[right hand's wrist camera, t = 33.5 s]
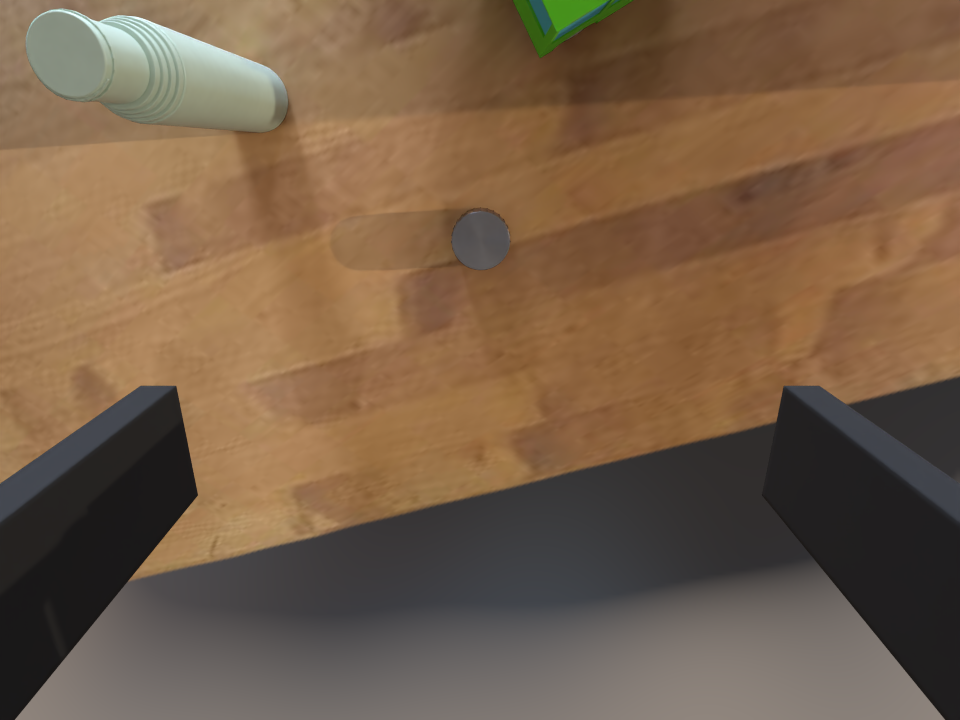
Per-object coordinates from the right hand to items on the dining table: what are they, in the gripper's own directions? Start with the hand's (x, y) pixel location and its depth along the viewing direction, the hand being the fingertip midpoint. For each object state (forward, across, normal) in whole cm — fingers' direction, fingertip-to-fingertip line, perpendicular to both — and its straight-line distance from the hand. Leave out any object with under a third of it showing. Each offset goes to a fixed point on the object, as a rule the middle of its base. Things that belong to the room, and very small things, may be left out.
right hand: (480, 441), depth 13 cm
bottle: (+32, +15, -9) cm, 37 cm away
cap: (+30, 0, 0) cm, 30 cm away
